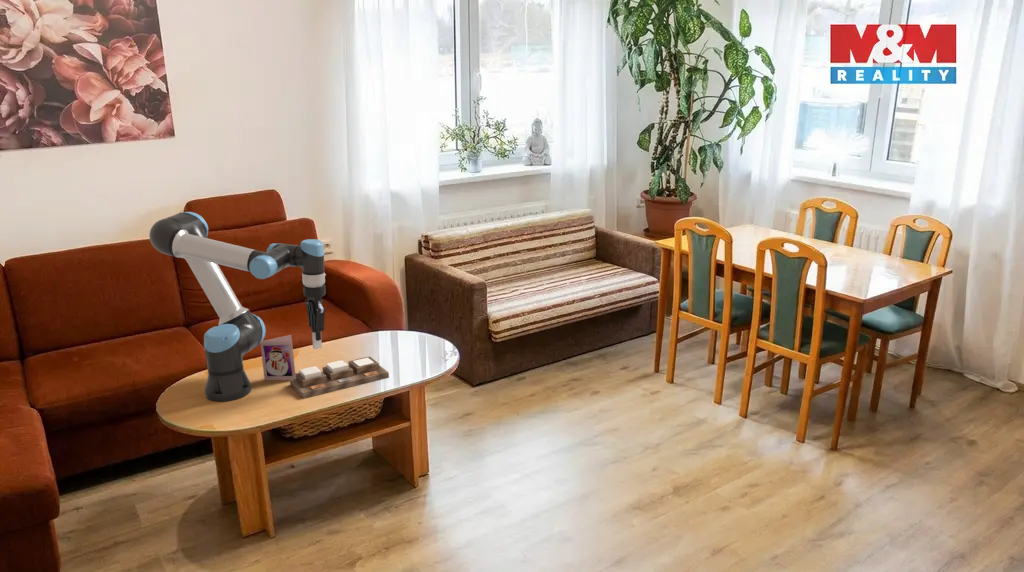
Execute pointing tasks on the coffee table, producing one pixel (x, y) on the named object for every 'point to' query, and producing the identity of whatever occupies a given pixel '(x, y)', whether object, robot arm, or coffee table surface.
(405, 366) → the coffee table surface
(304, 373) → the button left
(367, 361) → the button right
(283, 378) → the greeting card
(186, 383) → the coffee table surface
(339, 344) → the coffee table surface
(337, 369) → the button middle
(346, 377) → the button board
